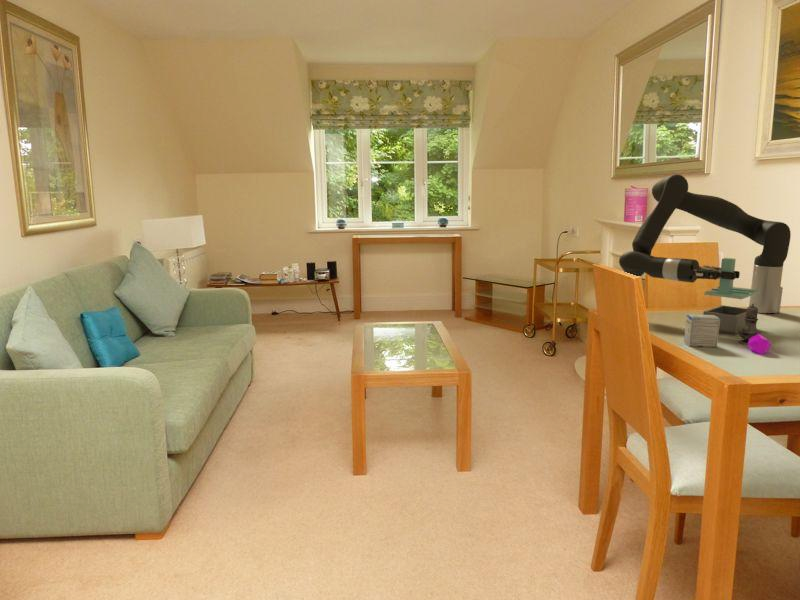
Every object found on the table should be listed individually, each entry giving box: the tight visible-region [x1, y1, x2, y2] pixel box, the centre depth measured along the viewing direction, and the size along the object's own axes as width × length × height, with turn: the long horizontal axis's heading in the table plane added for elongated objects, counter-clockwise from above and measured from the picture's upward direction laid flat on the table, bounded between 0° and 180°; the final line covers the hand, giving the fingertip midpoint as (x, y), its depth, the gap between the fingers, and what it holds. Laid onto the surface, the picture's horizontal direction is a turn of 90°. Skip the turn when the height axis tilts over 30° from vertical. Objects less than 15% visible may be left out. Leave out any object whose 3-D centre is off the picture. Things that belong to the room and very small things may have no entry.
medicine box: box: [683, 314, 720, 348], centre depth 179 cm, size 8×4×9 cm, turn 84°
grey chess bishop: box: [737, 304, 762, 346], centre depth 182 cm, size 6×6×12 cm
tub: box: [702, 304, 747, 336], centre depth 201 cm, size 16×10×6 cm, turn 134°
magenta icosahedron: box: [747, 334, 772, 356], centre depth 173 cm, size 5×5×5 cm
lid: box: [704, 257, 760, 300], centre depth 198 cm, size 17×11×12 cm, turn 134°
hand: (736, 275), depth 191 cm, fingers closed on lid, 3 cm apart
